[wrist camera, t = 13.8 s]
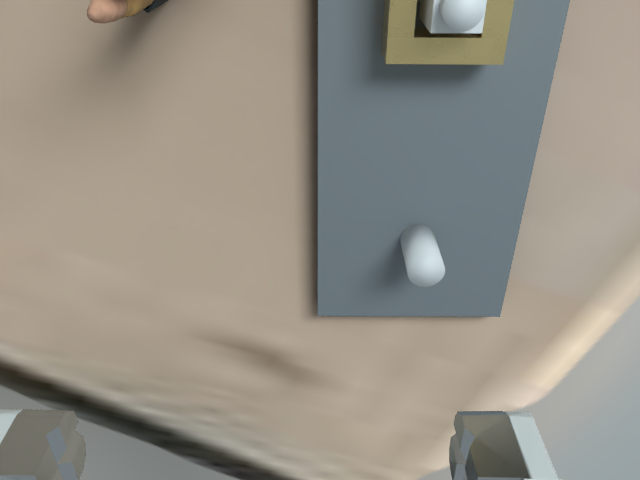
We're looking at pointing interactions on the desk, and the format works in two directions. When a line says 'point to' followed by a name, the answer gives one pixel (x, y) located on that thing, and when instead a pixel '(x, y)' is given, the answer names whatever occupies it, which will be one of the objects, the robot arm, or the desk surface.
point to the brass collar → (444, 37)
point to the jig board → (425, 160)
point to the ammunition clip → (119, 9)
